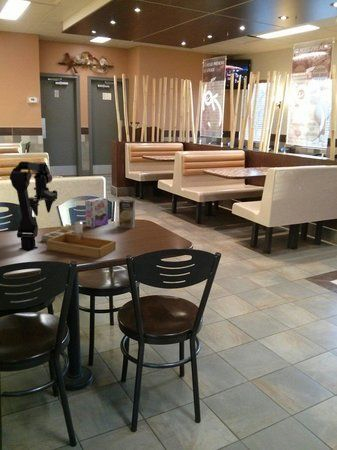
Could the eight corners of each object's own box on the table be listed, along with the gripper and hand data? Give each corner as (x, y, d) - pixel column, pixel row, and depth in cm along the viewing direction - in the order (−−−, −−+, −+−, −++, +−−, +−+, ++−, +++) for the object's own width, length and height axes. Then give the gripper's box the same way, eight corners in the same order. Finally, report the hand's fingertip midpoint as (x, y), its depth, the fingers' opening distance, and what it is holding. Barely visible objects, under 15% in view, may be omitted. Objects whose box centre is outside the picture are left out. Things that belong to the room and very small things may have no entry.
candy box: (92, 228, 245) (91, 201, 241) (85, 226, 248) (84, 200, 244) (108, 223, 255) (108, 198, 251) (102, 222, 259) (101, 197, 255)
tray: (115, 251, 204) (115, 240, 203) (99, 260, 191) (98, 248, 189) (66, 243, 216) (65, 233, 214) (47, 251, 202) (46, 240, 201)
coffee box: (118, 227, 247) (118, 201, 243) (120, 225, 253) (120, 199, 249) (133, 228, 246) (133, 202, 242) (135, 225, 252) (135, 200, 248)
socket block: (56, 243, 213) (56, 237, 213) (42, 240, 217) (41, 235, 217) (75, 235, 227) (75, 230, 226) (61, 233, 231) (61, 228, 231)
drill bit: (80, 241, 200) (79, 223, 198) (73, 240, 201) (72, 222, 199) (84, 239, 203) (84, 222, 201) (78, 238, 205) (77, 221, 203)
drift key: (67, 236, 225) (67, 228, 224) (60, 235, 227) (60, 226, 226) (69, 236, 226) (69, 227, 225) (62, 234, 228) (62, 226, 227)
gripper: (40, 189, 206) (42, 219, 210) (64, 184, 222) (65, 212, 226) (23, 187, 210) (25, 216, 214) (48, 183, 227) (50, 210, 231)
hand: (42, 214), depth 221 cm, fingers open, 9 cm apart
